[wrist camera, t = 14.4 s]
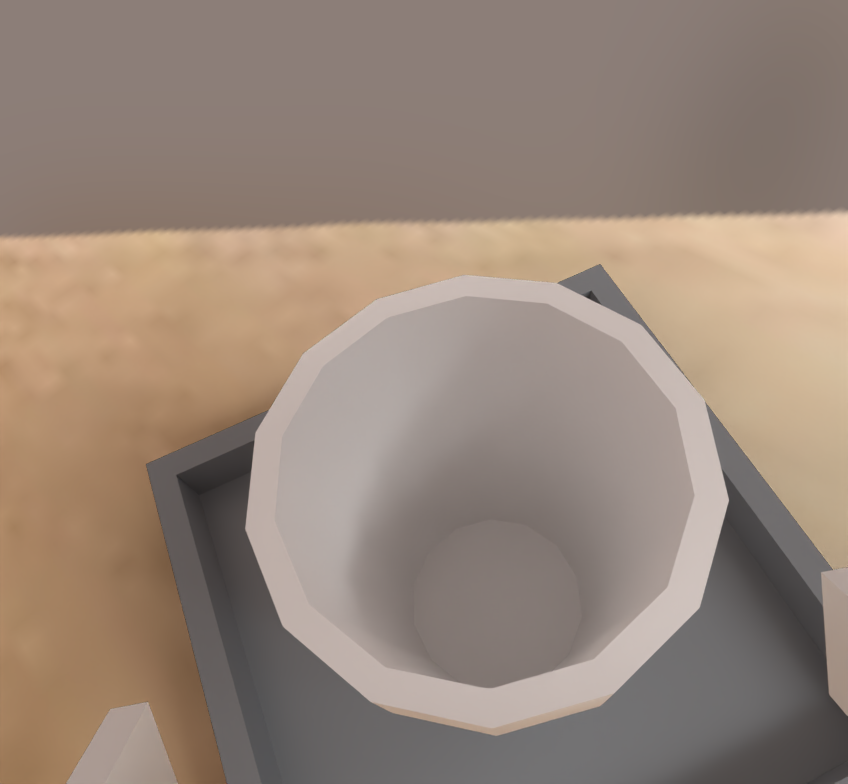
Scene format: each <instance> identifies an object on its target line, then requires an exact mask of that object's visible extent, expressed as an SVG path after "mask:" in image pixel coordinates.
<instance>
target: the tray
mask: <svg viewBox="0 0 848 784" xmlns="http://www.w3.org/2000/svg"><path fill="white" fill-rule="evenodd" d="M558 284H560V285H562V286H564V287H566V288H568V289H570V290H572V291H574V292H576V293H578V294H580V295H582V296H584V297H586V298H588V299H590V300H592V301H594V302H596V303H598V304H600V305H602V306H604V307H606V308H608V309H610V310H612V311H614V312H616V313H618V314H620V315H622V316H624V317H626V318H628V319H630V320H632V321H634V322H636V323H638V324H640V325H642V326H643V327H644V329H645V330H646V331H647V332H648V333H649V335H650V336H651V337H652V338H653V339H654V341H655V342H656V343H657V344H658V345H659V346H660V348H661V349H662V350H663V351H664V352H665V354H666V355H667V356H668V357H669V358H670V360H671V361H672V362H673V363H674V364H675V365H676V367H677V368H678V369H679V370H680V368H679V367H678V366H677V364H676V363H675V362H674V360H673V359H672V358H671V356H670V355H669V354H668V352H667V351H666V350H665V349H664V347H663V346H662V345H661V343H660V342H659V341H658V339H657V338H656V337H655V335H654V334H653V333H652V331H651V330H650V329H649V328H648V326H647V325H646V324H645V322H644V321H643V320H642V318H641V317H640V316H639V314H638V313H637V312H636V310H635V309H634V308H633V307H632V305H631V304H630V303H629V301H628V300H627V299H626V297H625V296H624V295H623V293H622V292H621V291H620V289H619V288H618V287H617V286H616V284H615V283H614V282H613V280H612V279H611V278H610V276H609V275H608V274H607V272H606V271H605V270H604V268H603V267H602V266H601V264H599V265H597V266H595V267H592V268H590V269H588V270H585V271H583V272H581V273H579V274H576V275H574V276H572V277H570V278H567V279H565V280H563V281H560V282H558ZM680 371H681V370H680ZM681 373H682V374H683V372H682V371H681ZM683 375H684V374H683ZM684 376H685V375H684ZM685 377H686V376H685ZM686 378H687V377H686ZM687 380H688V379H687ZM688 381H689V380H688ZM689 382H690V381H689ZM692 386H693V385H692ZM705 404H706V402H705ZM706 408H707V412H708V416H709V420H710V424H711V428H712V432H713V437H714V441H715V445H716V449H717V453H718V457H719V461H720V465H721V469H722V474H723V478H724V482H725V486H726V490H727V494H728V498H729V502H728V506H727V510H726V513H725V517H724V521H723V524H722V528H721V532H720V535H719V539H718V543H717V546H716V550H715V554H714V557H713V561H712V565H711V568H710V572H709V576H708V579H707V583H706V587H705V590H704V594H703V598H702V601H701V605H700V608H699V609H698V610H697V611H696V612H695V613H694V614H693V615H692V616H691V617H690V618H689V619H688V620H687V621H686V622H685V623H684V624H683V625H682V626H681V627H680V628H679V629H678V630H677V631H676V632H675V633H674V634H673V635H672V636H671V637H670V638H669V639H668V640H667V641H666V642H665V643H664V644H663V645H662V646H661V647H660V648H659V649H658V650H657V651H656V652H655V653H654V654H653V655H652V656H651V657H650V658H649V659H648V660H647V661H646V662H645V663H644V664H643V665H642V666H641V667H640V668H639V669H638V670H637V671H636V672H635V673H634V674H633V675H632V676H631V677H630V678H629V679H628V680H627V681H626V682H625V683H624V684H623V685H622V686H621V687H620V688H619V689H618V690H617V691H616V692H615V693H614V694H613V695H612V696H611V697H610V698H609V699H608V700H606V701H605V702H604V703H603V704H602V705H601V706H599V707H596V708H592V709H589V710H585V711H582V712H578V713H575V714H571V715H568V716H564V717H561V718H557V719H554V720H550V721H547V722H543V723H540V724H536V725H533V726H529V727H526V728H522V729H519V730H516V731H512V732H509V733H505V734H502V735H498V736H494V735H490V734H485V733H481V732H476V731H472V730H467V729H463V728H458V727H454V726H449V725H444V724H440V723H435V722H431V721H426V720H422V719H417V718H413V717H408V716H404V715H399V714H395V713H391V712H389V711H387V710H385V709H383V708H382V707H380V706H378V705H376V704H374V703H372V702H370V701H369V700H368V699H367V698H365V697H364V696H363V695H362V694H361V693H360V692H358V691H357V690H356V689H355V688H354V687H353V686H351V685H350V684H349V683H348V682H347V681H346V680H344V679H343V678H342V677H341V676H340V675H339V674H337V673H336V672H335V671H334V670H333V669H332V668H330V667H329V666H328V665H327V664H326V663H325V662H323V661H322V660H321V659H320V658H319V657H318V656H316V655H315V654H314V653H313V652H312V651H311V650H309V649H308V648H307V647H306V646H305V645H304V644H302V643H301V642H300V641H299V640H298V639H297V638H295V637H294V636H293V635H292V634H291V633H290V632H288V631H287V630H286V629H285V628H284V627H283V626H282V623H281V621H280V618H279V615H278V613H277V610H276V608H275V605H274V602H273V600H272V597H271V595H270V592H269V589H268V587H267V584H266V582H265V579H264V576H263V574H262V571H261V569H260V566H259V564H258V561H257V558H256V556H255V553H254V551H253V548H252V545H251V543H250V540H249V538H248V535H247V532H246V530H245V526H246V517H247V507H248V498H249V489H250V479H251V470H252V461H253V451H254V442H255V433H256V431H257V429H258V428H259V426H260V424H261V423H262V421H263V419H264V418H265V416H266V414H267V413H268V411H269V410H268V411H266V412H263V413H261V414H259V415H256V416H254V417H252V418H250V419H247V420H245V421H243V422H241V423H238V424H236V425H234V426H232V427H229V428H227V429H225V430H222V431H220V432H218V433H216V434H213V435H211V436H209V437H207V438H204V439H202V440H200V441H197V442H195V443H193V444H191V445H188V446H186V447H184V448H182V449H179V450H177V451H175V452H173V453H170V454H168V455H166V456H163V457H161V458H159V459H157V460H154V461H152V462H150V463H148V464H146V467H147V471H148V474H149V478H150V482H151V486H152V490H153V494H154V498H155V502H156V506H157V510H158V514H159V518H160V522H161V526H162V530H163V534H164V537H165V541H166V545H167V549H168V553H169V557H170V561H171V565H172V569H173V573H174V577H175V581H176V585H177V589H178V593H179V597H180V600H181V604H182V608H183V612H184V616H185V620H186V624H187V628H188V632H189V636H190V640H191V644H192V648H193V652H194V656H195V660H196V663H197V667H198V671H199V675H200V679H201V683H202V687H203V691H204V695H205V699H206V703H207V707H208V711H209V715H210V719H211V723H212V726H213V730H214V734H215V738H216V742H217V746H218V750H219V754H220V758H221V762H222V766H223V770H224V774H225V778H226V782H227V784H848V716H847V715H846V714H845V713H844V711H843V710H842V709H841V708H840V707H839V706H838V704H837V703H836V702H835V701H834V700H833V699H832V697H831V696H830V695H829V687H828V672H827V657H826V641H825V626H824V611H823V596H822V580H821V572H825V571H830V570H833V569H832V568H831V567H830V565H829V564H828V563H827V561H826V560H825V559H824V557H823V556H822V555H821V553H820V552H819V551H818V549H817V548H816V547H815V546H814V544H813V543H812V542H811V540H810V539H809V538H808V536H807V535H806V534H805V532H804V531H803V530H802V528H801V527H800V526H799V525H798V523H797V522H796V521H795V519H794V518H793V517H792V515H791V514H790V513H789V511H788V510H787V509H786V507H785V506H784V505H783V504H782V502H781V501H780V500H779V498H778V497H777V496H776V494H775V493H774V492H773V490H772V489H771V488H770V486H769V485H768V484H767V483H766V481H765V480H764V479H763V477H762V476H761V475H760V473H759V472H758V471H757V469H756V468H755V467H754V465H753V464H752V463H751V462H750V460H749V459H748V458H747V456H746V455H745V454H744V452H743V451H742V450H741V448H740V447H739V446H738V444H737V443H736V442H735V440H734V439H733V438H732V437H731V435H730V434H729V433H728V431H727V430H726V429H725V427H724V426H723V425H722V423H721V422H720V421H719V419H718V418H717V417H716V416H715V414H714V413H713V412H712V410H711V409H710V408H709V406H708V405H707V404H706Z"/></svg>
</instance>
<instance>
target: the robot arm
mask: <svg viewBox="0 0 848 784" xmlns="http://www.w3.org/2000/svg"><path fill="white" fill-rule="evenodd" d="M821 580H822V596H823V611H824V626H825V641H826V657H827V672H828V687H829V695H830V696H831V697H832V699H833V700H834V701H835V702H836V703H837V704H838V706H839V707H840V708H841V709H842V710H843V711H844V713H845V714H846V715H847V716H848V567H846V568H841V569H835V570H830V571H825V572H821ZM66 784H178V782H177V780H176V777H175V774H174V771H173V769H172V766H171V763H170V760H169V758H168V755H167V752H166V749H165V747H164V744H163V741H162V738H161V736H160V733H159V730H158V728H157V725H156V722H155V719H154V717H153V714H152V711H151V708H150V706H149V703H148V702H144V703H139V704H134V705H129V706H124V707H118V708H113V709H110V710H109V712H108V714H107V715H106V717H105V719H104V720H103V722H102V724H101V725H100V727H99V729H98V730H97V732H96V734H95V735H94V737H93V739H92V741H91V742H90V744H89V746H88V747H87V749H86V751H85V752H84V754H83V756H82V757H81V759H80V761H79V762H78V764H77V766H76V767H75V769H74V771H73V772H72V774H71V776H70V778H69V779H68V781H67V783H66Z"/></svg>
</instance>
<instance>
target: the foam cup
mask: <svg viewBox="0 0 848 784" xmlns="http://www.w3.org/2000/svg"><path fill="white" fill-rule="evenodd" d="M728 502H729V498H728V494H727V490H726V486H725V482H724V478H723V474H722V469H721V465H720V461H719V457H718V453H717V449H716V445H715V441H714V437H713V432H712V428H711V424H710V420H709V416H708V412H707V408H706V404H705V400H704V399H703V397H702V396H701V395H700V394H699V393H698V392H697V390H696V389H695V388H694V387H693V386H692V384H691V383H690V382H689V381H688V380H687V378H686V377H685V376H684V375H683V374H682V373H681V371H680V370H679V369H678V368H677V367H676V365H675V364H674V363H673V362H672V361H671V360H670V358H669V357H668V356H667V355H666V354H665V352H664V351H663V350H662V349H661V348H660V346H659V345H658V344H657V343H656V342H655V341H654V339H653V338H652V337H651V336H650V335H649V333H648V332H647V331H646V330H645V329H644V327H643V326H642V325H640V324H638V323H636V322H634V321H632V320H630V319H628V318H626V317H624V316H622V315H620V314H618V313H616V312H614V311H612V310H610V309H608V308H606V307H604V306H602V305H600V304H598V303H596V302H594V301H592V300H590V299H588V298H586V297H584V296H582V295H580V294H578V293H576V292H574V291H572V290H570V289H568V288H566V287H564V286H562V285H560V284H558V283H552V282H540V281H529V280H518V279H506V278H495V277H484V276H472V275H462V276H458V277H455V278H451V279H448V280H444V281H440V282H437V283H433V284H430V285H426V286H422V287H419V288H415V289H411V290H408V291H404V292H401V293H397V294H393V295H390V296H386V297H383V298H379V299H376V300H375V301H373V302H372V303H371V304H369V305H368V306H367V307H365V308H364V309H363V310H361V311H360V312H359V313H357V314H356V315H354V316H353V317H352V318H350V319H349V320H348V321H346V322H345V323H344V324H342V325H341V326H340V327H338V328H337V329H335V330H334V331H333V332H331V333H330V334H329V335H327V336H326V337H325V338H323V339H322V340H321V341H319V342H318V343H316V344H315V345H314V346H312V347H311V348H310V349H308V350H307V351H306V352H304V353H303V355H302V356H301V358H300V360H299V361H298V363H297V365H296V366H295V368H294V369H293V371H292V373H291V374H290V376H289V378H288V379H287V381H286V383H285V384H284V386H283V388H282V389H281V391H280V393H279V394H278V396H277V398H276V399H275V401H274V403H273V404H272V406H271V408H270V409H269V411H268V413H267V414H266V416H265V418H264V419H263V421H262V423H261V424H260V426H259V428H258V429H257V431H256V433H255V442H254V451H253V461H252V470H251V479H250V489H249V498H248V507H247V517H246V526H245V530H246V532H247V535H248V538H249V540H250V543H251V545H252V548H253V551H254V553H255V556H256V558H257V561H258V564H259V566H260V569H261V571H262V574H263V576H264V579H265V582H266V584H267V587H268V589H269V592H270V595H271V597H272V600H273V602H274V605H275V608H276V610H277V613H278V615H279V618H280V621H281V623H282V626H283V627H284V628H285V629H286V630H287V631H288V632H290V633H291V634H292V635H293V636H294V637H295V638H297V639H298V640H299V641H300V642H301V643H302V644H304V645H305V646H306V647H307V648H308V649H309V650H311V651H312V652H313V653H314V654H315V655H316V656H318V657H319V658H320V659H321V660H322V661H323V662H325V663H326V664H327V665H328V666H329V667H330V668H332V669H333V670H334V671H335V672H336V673H337V674H339V675H340V676H341V677H342V678H343V679H344V680H346V681H347V682H348V683H349V684H350V685H351V686H353V687H354V688H355V689H356V690H357V691H358V692H360V693H361V694H362V695H363V696H364V697H365V698H367V699H368V700H369V701H370V702H372V703H374V704H376V705H378V706H380V707H382V708H383V709H385V710H387V711H389V712H391V713H395V714H399V715H404V716H408V717H413V718H417V719H422V720H426V721H431V722H435V723H440V724H444V725H449V726H454V727H458V728H463V729H467V730H472V731H476V732H481V733H485V734H490V735H494V736H498V735H502V734H505V733H509V732H512V731H516V730H519V729H522V728H526V727H529V726H533V725H536V724H540V723H543V722H547V721H550V720H554V719H557V718H561V717H564V716H568V715H571V714H575V713H578V712H582V711H585V710H589V709H592V708H596V707H599V706H601V705H602V704H603V703H604V702H605V701H606V700H608V699H609V698H610V697H611V696H612V695H613V694H614V693H615V692H616V691H617V690H618V689H619V688H620V687H621V686H622V685H623V684H624V683H625V682H626V681H627V680H628V679H629V678H630V677H631V676H632V675H633V674H634V673H635V672H636V671H637V670H638V669H639V668H640V667H641V666H642V665H643V664H644V663H645V662H646V661H647V660H648V659H649V658H650V657H651V656H652V655H653V654H654V653H655V652H656V651H657V650H658V649H659V648H660V647H661V646H662V645H663V644H664V643H665V642H666V641H667V640H668V639H669V638H670V637H671V636H672V635H673V634H674V633H675V632H676V631H677V630H678V629H679V628H680V627H681V626H682V625H683V624H684V623H685V622H686V621H687V620H688V619H689V618H690V617H691V616H692V615H693V614H694V613H695V612H696V611H697V610H698V609H699V608H700V605H701V601H702V598H703V594H704V590H705V587H706V583H707V579H708V576H709V572H710V568H711V565H712V561H713V557H714V554H715V550H716V546H717V543H718V539H719V535H720V532H721V528H722V524H723V521H724V517H725V513H726V510H727V506H728Z"/></svg>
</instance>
